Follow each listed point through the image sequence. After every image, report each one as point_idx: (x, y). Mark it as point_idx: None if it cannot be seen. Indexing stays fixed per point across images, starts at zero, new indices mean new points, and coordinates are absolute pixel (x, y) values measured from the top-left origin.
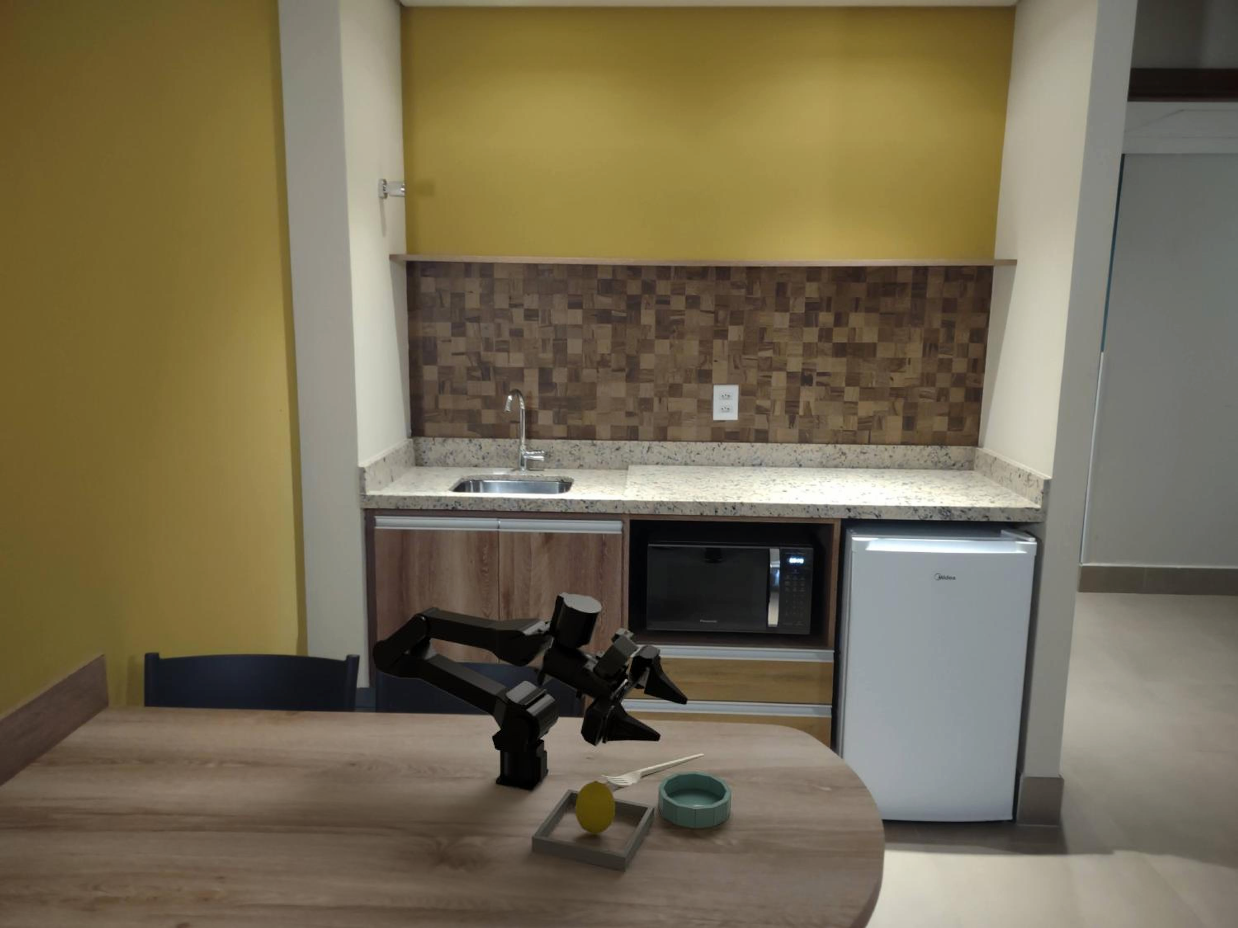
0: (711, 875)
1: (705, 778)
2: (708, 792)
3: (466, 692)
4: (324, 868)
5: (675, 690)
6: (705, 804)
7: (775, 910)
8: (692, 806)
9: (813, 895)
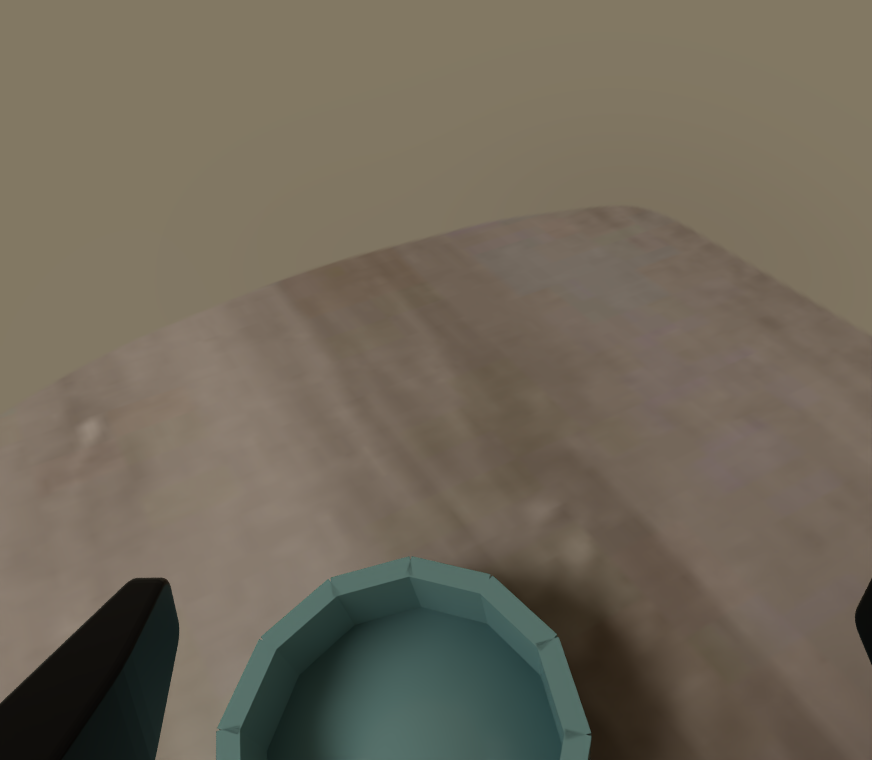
0: (772, 477)
1: (246, 757)
2: (279, 749)
3: None
4: None
5: (71, 719)
6: (385, 707)
7: (754, 298)
8: (547, 660)
9: (626, 269)
